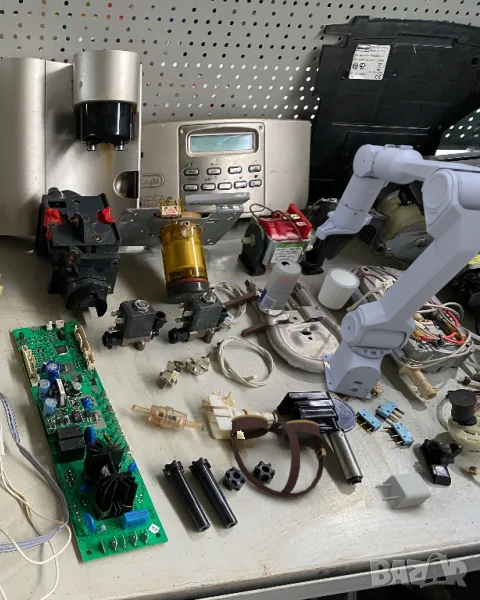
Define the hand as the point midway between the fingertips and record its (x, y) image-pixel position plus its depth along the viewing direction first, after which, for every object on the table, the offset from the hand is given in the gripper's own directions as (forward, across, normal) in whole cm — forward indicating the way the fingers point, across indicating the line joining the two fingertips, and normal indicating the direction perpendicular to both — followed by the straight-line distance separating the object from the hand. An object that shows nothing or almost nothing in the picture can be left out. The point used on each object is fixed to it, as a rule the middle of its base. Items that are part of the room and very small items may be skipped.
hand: (327, 256), depth 114 cm
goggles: (+11, +39, +28) cm, 50 cm away
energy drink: (+11, +13, 0) cm, 16 cm away
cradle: (+10, +18, 0) cm, 21 cm away
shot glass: (+11, -2, +4) cm, 12 cm away
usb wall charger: (+11, +26, +42) cm, 50 cm away
